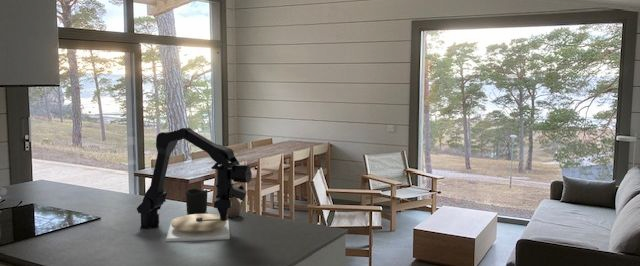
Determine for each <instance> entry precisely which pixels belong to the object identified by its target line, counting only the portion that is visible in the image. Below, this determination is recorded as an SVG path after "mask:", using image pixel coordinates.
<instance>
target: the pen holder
mask: <svg viewBox="0 0 640 266" xmlns="http://www.w3.org/2000/svg"><path fill="white" fill-rule="evenodd" d="M185 199H186V203H185V204H186V213H187V215H191V214H207V211H208V189H204V190H200V189H197V188H190V189H186V190H185Z"/></svg>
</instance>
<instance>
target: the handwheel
mask: <svg viewBox="0 0 640 266" xmlns="http://www.w3.org/2000/svg"><path fill="white" fill-rule="evenodd" d="M228 218H229V216H228V211H227V216H226V220H228V221H229V219H228ZM226 220H225V221H223V220H222V218H221V216H220V214H215V213H214V214H213V213H204V214H186V215H181V216H178V217H175V218H174V219H172V220H171V222H172V227H173V228H175V229H178V230H183V231H207V230H213V229H217V228H220V227H223V226H224V225H226Z"/></svg>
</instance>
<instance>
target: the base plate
mask: <svg viewBox="0 0 640 266" xmlns="http://www.w3.org/2000/svg"><path fill="white" fill-rule="evenodd" d="M230 238H231V237H230V223H229V219H228V220H226V225H224V226H223V227H220V228H217V229H213V230H207V231H183V230H178V229H175V228H173V227H172V221H171V222H170V225H169V228H168V232H167V235H166V238H165V239H166V243H167V242H189V241H190V242H191V241H210V240H211V241H214V240H230Z"/></svg>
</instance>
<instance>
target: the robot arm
mask: <svg viewBox="0 0 640 266" xmlns="http://www.w3.org/2000/svg"><path fill="white" fill-rule="evenodd" d="M181 140H185V141H187V142H188V143H190V144H192V145H194V146H196V147H197V148H199V149H200V150H202V151H203V152H206V154H208V155H209V157H210V159H212V160H213V161H214V162H215V164H214V165H213V166H211V170H216V184H215V185H216V186H215V188H216V195H215V198H216V199H215V200H214V202H213V208H214V209H216V210H217V211H218V213H219V214H218V215H220V216H221V218H222V220H223V221H225V220H226V216H227V211H228V208H231V205H232V201H231V200H230V198H233V197H235V198H237V199H238V200H239V201H242V202H243V201H245V198H246V195H247V190H246V189H245V187H244V185H241V184H240V185H238V187H237V186H234V183H244V184H248V183H250V182H251V180H252V176H253V172H252V170H251V168H250V165H249V164H240V162H239V161H238V159H237V157H236V156H235V153H234V150H233V149H232V148H231V147H227V146H225V145H223V144H222V145H221V144H217V143H215V142H213V141H212V140H210V139H208V138H206V137H205V136H203V135H201V134H199V133H198V132H196V130H195V131H194V130H193V129H192V128H191V127H182V128H180V129H177V130H174V131H173V130H168V131H164V132H163V131H162V132H159V133H157V135H156V139H155V148H156V150H157V151H156V152H157V155H156V159H155V164H154V168H153V173H152V177H151V182H150V186H149V187H148V188H147V190H146V192H145V194H144V195H143V198H142V202H141V203H140V204H139V205H138V206H137V207H136V211H137V214H140V226H139V228H140V229H157V228H158V226H160V214H159V212H158V210H161V207H162V206H163V205H164V203H166V202H167V200H166V197H167V194H168V192H166V191H165V190H164V185H165V180H166V179H165V178H166V174H167V170H168V166H169V161H170V156H171V154H172V153H173V151H174V150H175V148H176V146H177V144H178V141H181ZM233 182H234V183H233Z"/></svg>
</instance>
